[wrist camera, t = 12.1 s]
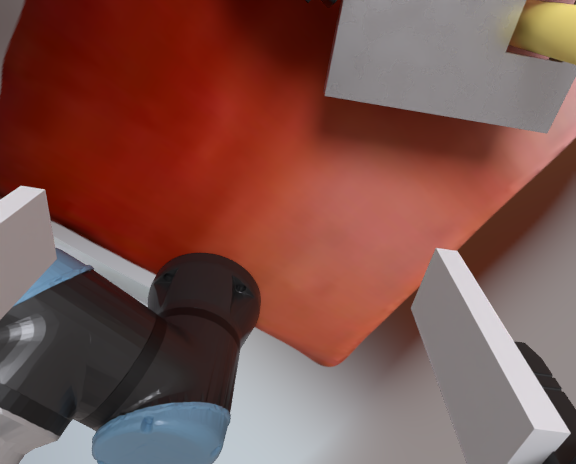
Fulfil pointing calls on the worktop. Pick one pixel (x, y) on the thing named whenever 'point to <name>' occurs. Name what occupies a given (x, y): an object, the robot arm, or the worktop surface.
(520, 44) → the pin
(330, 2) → the pneumatic valve
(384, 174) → the worktop surface
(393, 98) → the gray slab
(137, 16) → the worktop surface
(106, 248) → the worktop surface
